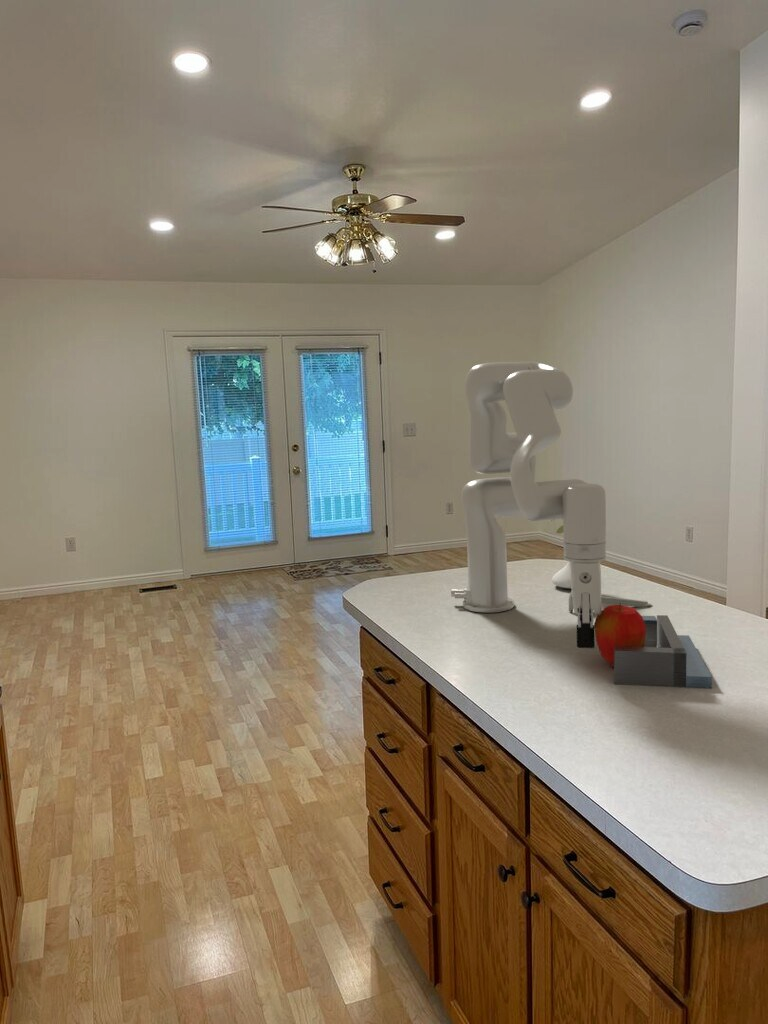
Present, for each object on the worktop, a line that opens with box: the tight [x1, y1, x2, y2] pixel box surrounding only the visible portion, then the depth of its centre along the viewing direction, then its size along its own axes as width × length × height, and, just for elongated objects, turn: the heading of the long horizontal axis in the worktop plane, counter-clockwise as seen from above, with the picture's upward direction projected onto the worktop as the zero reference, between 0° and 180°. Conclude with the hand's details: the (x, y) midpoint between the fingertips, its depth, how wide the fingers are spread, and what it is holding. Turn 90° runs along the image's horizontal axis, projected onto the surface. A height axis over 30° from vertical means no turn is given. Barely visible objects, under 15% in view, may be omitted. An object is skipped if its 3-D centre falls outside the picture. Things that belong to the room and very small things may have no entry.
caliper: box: [568, 590, 654, 614], centre depth 166 cm, size 20×1×6 cm, turn 97°
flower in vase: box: [550, 519, 572, 590], centre depth 186 cm, size 13×11×25 cm
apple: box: [593, 603, 646, 667], centre depth 130 cm, size 9×9×12 cm
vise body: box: [613, 614, 713, 689], centre depth 130 cm, size 16×22×6 cm
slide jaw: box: [641, 615, 657, 647], centre depth 139 cm, size 9×3×6 cm, turn 76°
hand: (585, 646), depth 132 cm, fingers closed
